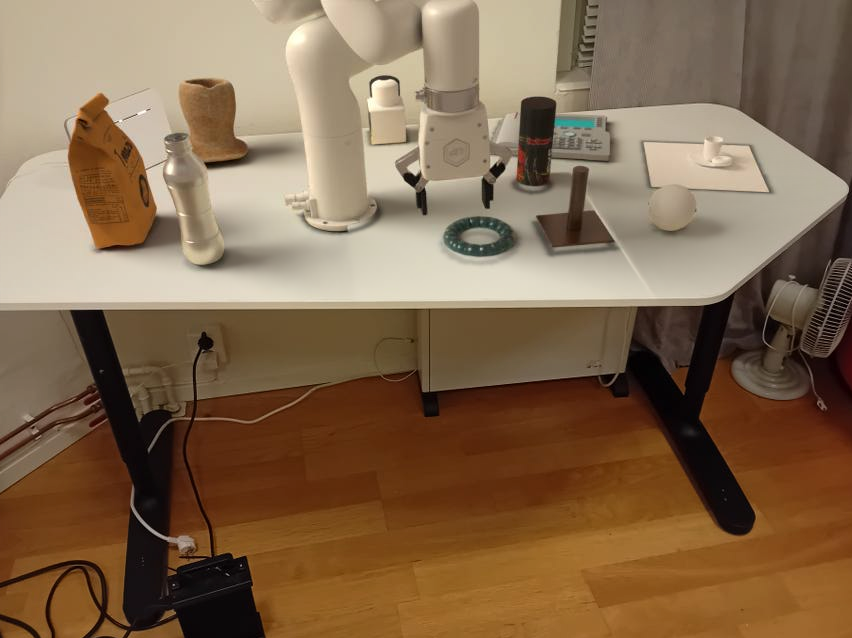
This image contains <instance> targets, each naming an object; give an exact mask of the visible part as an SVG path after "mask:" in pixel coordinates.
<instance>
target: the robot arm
mask: <svg viewBox="0 0 852 638" xmlns="http://www.w3.org/2000/svg"><path fill="white" fill-rule="evenodd" d="M250 1H251V3H252V4H253V5H254V6H255V7H256V9H257V10H258V11H259V13H260V14H261V15H262V16H263V17H264V19H266V20H267V21H268V22H270V23H272V24H274V25H287V24H291V23H294V22H297V21H300V20H302V19H305V18H308V17H310V16H313V15H315V16H316V17H315V18H312V19H310V20H307V21H305V22H303V23H302V24H301V25H299V26H298V27H296V28H295V29H294V30H293V31H292V33H291V34H290V35H289V37H288V39H287V42H286V45H285V61H286V62H285V63H286V65H287V69H288V72H289V75H290V78H291V81H292V84H293V87H294V91H295V95H296V99H297V104H298V109H299V116H300V124H301V130H302V138H303V144H304V153H305V160H306V167H307V174H308V181H309V184H308V190H303V192H302V193H285V194H284V202H285V206H286V207H291V208H292V209H291V210H292V211H301V210H303V214H304V220H305V221H306V222H307V223H308V224H309V225H310V226H312V227H313V228H316V229H319V230H323V231H328V232H329V231H330V232H344V231H345V232H347V231H349V230H348V229H349V228H348V226H351V225H356V224H358V223H361V222H364V221H366V220H368V219H369V218H371V217H372V216H373V215H374V214H375V213H376V212H377V209H378V205H377V202H376V200H375V199H374V198H373V197H371V196H369V195H368V185H367V184H368V183H367V173H366V171H367V170H366V161H365V160H366V159H365V147H364V135H363V134H364V133H363V122H362V113H361V112H362V111H361V108H360V104H359V101H358V99H357V97H356V95H355V94H354V92H353V90H352V88H351V84H350V80H351V79H353V78H354V77H355V76H357V75H359V74H362V73H363V72H365V71H367V70H368V69H371V68H372V67H374V66H384V65H388V64H390V63H393V62H395V61H397V60H399V59H402V58H403V57H405V56H407V55H409V54H411V53H414V52H417V51H420V50H422V55H423V57H422V58H423V78H424V79H423V80H424V82H423V87H422V89H419V90H416V91H414V101H415V102H421V103H423V105H422V106H421V109H420V114H419V115H420V116H419V124H418V146H417V147H415V148H414V149H412V150H410V151H409V152H407V153H406V154H404V155H402V156H401V157H399V158H398V159H396V160H395V161H394V165H395V168H396V170H397V172H398V173H399V175H400V176H401V177H402V179H403V181H404V182H405V183H406V184H408V185H409V186H410V187H411V188H412V189H414V191H415V204H416V209H418V210H419V209H420V212H421V215H422V216H423V217H424V216H425V217H426V216H428V199H427V198H428V197H427V189H426V186H427V184H428V183H429V182H443V181H452V180H463V179H471V178H479V177H482V178H481V202H482V205H483V206H484V209H485V210H490V209H491V202H493V201H494V195H495V193H494V192H495V191H494V190H495V189H494V188H495V184H496V183H497V180H498V179H499V178H500V176H501V175H503V174H504V172H505V171H506V170H507V169H506V168H507V166H508V164H509V163H510V161H511V159H512V157H513V155H512V152H511V150H510V149H509V148H506V147H504V146H501V145H499V144H496V143H494V142H491V141H492V140H490V130H489V120H488V114H487V109H486V105H485V104H484V103H483V102H482V101H481V100H480V10H479V6H478V5H477V2H475V1H474V0H250ZM490 152H491V153H493V154H492V155H494V156H495V155H496V156H498V159H497V161H496V162H495V163H494V164H493V165H492V166H491V154H490ZM417 161H418V164H419V166H420V167H419V170H418V172H417V173H416V174H414V173H412V172H411V171H410V170H409V169H408V167H409V166H410V165H413V164H414V163H415V162H417ZM371 205H372V206H371Z"/></svg>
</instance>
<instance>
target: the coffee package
mask: <svg viewBox="0 0 852 638" xmlns="http://www.w3.org/2000/svg"><path fill="white" fill-rule="evenodd" d="M109 103H110V100H109V98H108V97H106V95H104V93H102V92H98V93H97V94H96V95H94V96H93V97H92V98H91V99H90V100H88V101H87V102H86V103H84V104H83V105H82V106H80V107H79V109H78V111H77V115H76V117H75V122H74V123H75V124H74V128H73V131H72V133H71V138H70V141H69V143H68V150H67V151H68V152H67V161H68V167H69V172H70V177H71V181H72V184H73V187H74V191H75V195H76V198H77V202H78V203H79V206H80V208H81V211H82V214H83V217H84V219H85V222H86V224H87V227H88V229H89V232H90V235H91V239H92V240H93V244H94V247H95V248H97V249H104V248H108V247H113V246H134V245H137V244H142V243H144V242H145V240H146V239H147V236H148V234H149V232H150V230H151V228H152V226H153V224H154V221H155V218H156V215H157V211H158V207H157V204H156V202H155V198H154V194H153V192H152V190H151V189H152V188H151V186H150V183H149V179H148V173H147V169H146V167H145V163H144V159H143V157H142V155H141V153H140V151H139V149H138V147H137V146H136V144H135V143H134V142H133V140H132V139H131V138H130V137H129V135H127V134H126V132H124V130H122V129H121V128H120V127H119V126H118V125H116V123H115V122H114V120H113V118H112V117H111V116H110V114H109V113H108V111H107V110H105V108H107V107H108V105H109Z"/></svg>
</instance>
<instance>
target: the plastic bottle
mask: <svg viewBox="0 0 852 638" xmlns="http://www.w3.org/2000/svg"><path fill="white" fill-rule="evenodd" d="M163 142H164V146H165V147H164V148H165V150H164V151H165V153H166V154H167V155H168V154H169V155H168V157H167V156H166V159H165V162H164V164H163V168H162V177H163V180H164V183H165V185H166V188H167V190H168V192H169V195H170V197H171V199H172V202H173V205H174V208H175V212H176V215H177V218H178V225H179V230H180V242H181V249H182V252H183V254H184V256H185V257H186V259H187V260H188V261H189V262H190V263H192V264H194V265H200V266H201V265H203V266H205V265H210V264H213V263H215V262H218V261H219V260H220V259H221V258H222V256H223V254H224V251H225V241H224V238H223V235H222V232H221V231H220V228H219V227H218V224H217V223H218V222H217V220H216V217H215V215H214V211H213V207H212V201H211V195H210V186H209V175H208V168H207V166H206V164H205V163H204V162H203V161H202V160H201V159H200V158H199V157H198V156H197V155H196V154H195V153H193V152H192V149H193V147H192V144H191V141H190V134H188V133H187V132H181V131H180V132H179V131H177V132H172V133H169V134H166V135H165V136H164V137H163Z"/></svg>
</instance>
